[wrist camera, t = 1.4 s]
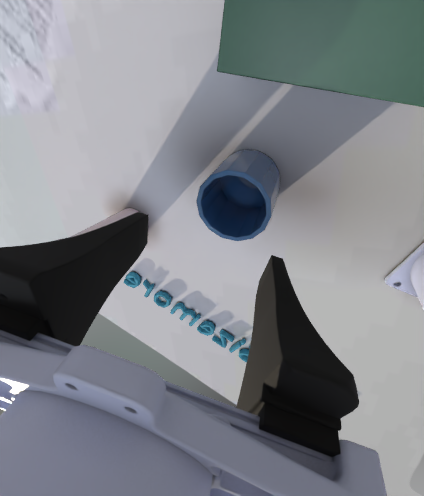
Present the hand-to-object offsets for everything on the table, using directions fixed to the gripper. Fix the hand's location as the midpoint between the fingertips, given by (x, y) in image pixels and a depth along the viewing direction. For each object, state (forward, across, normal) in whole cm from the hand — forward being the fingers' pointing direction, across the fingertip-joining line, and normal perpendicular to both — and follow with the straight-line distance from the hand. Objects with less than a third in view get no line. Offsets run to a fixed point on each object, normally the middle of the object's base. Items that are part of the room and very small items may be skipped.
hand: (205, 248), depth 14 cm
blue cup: (+11, -1, 0) cm, 11 cm away
